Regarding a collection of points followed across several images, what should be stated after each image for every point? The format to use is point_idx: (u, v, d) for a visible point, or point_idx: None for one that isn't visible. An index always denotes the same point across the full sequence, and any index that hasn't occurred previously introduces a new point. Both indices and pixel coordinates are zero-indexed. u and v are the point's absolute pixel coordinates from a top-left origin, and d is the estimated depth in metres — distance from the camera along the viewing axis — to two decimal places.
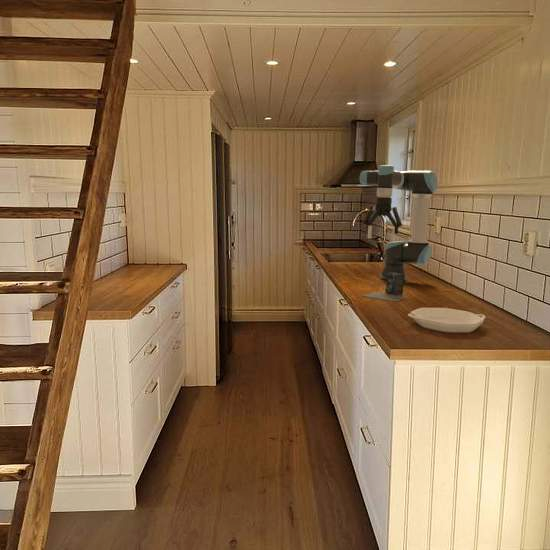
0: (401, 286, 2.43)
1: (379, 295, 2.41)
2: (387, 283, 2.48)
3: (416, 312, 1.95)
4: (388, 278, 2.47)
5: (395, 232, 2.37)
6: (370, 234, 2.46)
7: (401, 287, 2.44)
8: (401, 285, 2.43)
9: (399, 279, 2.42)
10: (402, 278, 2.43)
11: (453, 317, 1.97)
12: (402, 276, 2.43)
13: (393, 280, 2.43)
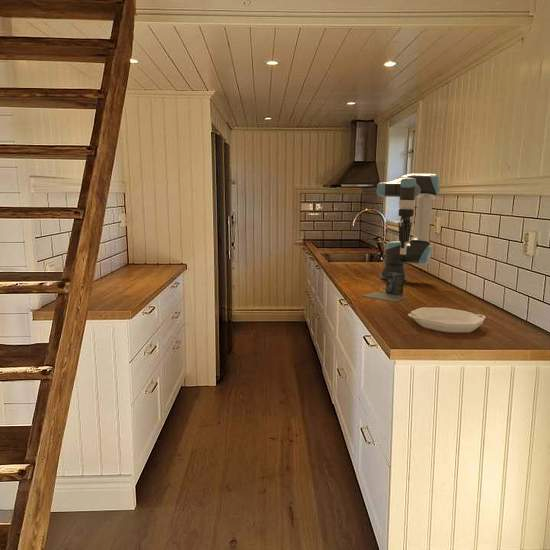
0: (401, 286, 2.43)
1: (379, 295, 2.41)
2: (387, 283, 2.48)
3: (416, 312, 1.95)
4: (388, 278, 2.47)
5: None
6: None
7: (401, 287, 2.44)
8: (401, 285, 2.43)
9: (399, 279, 2.42)
10: (402, 278, 2.43)
11: (453, 317, 1.97)
12: (402, 276, 2.43)
13: (393, 280, 2.43)
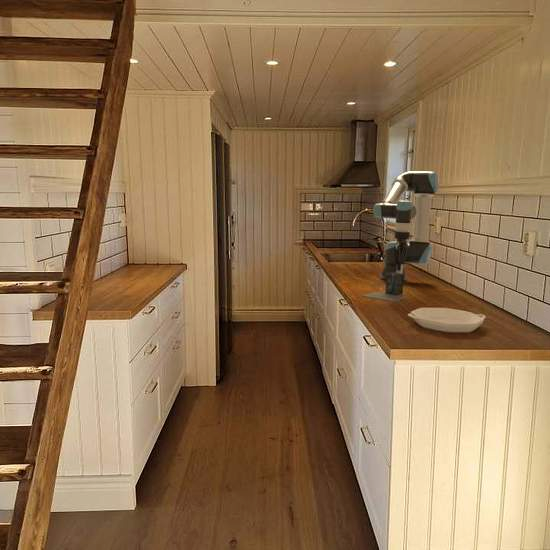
0: (401, 286, 2.43)
1: (379, 295, 2.41)
2: (387, 284, 2.48)
3: (416, 312, 1.95)
4: (387, 278, 2.47)
5: None
6: (399, 272, 2.49)
7: (401, 287, 2.44)
8: (400, 285, 2.43)
9: (398, 279, 2.43)
10: (401, 277, 2.43)
11: (453, 317, 1.97)
12: (401, 275, 2.43)
13: (392, 280, 2.43)
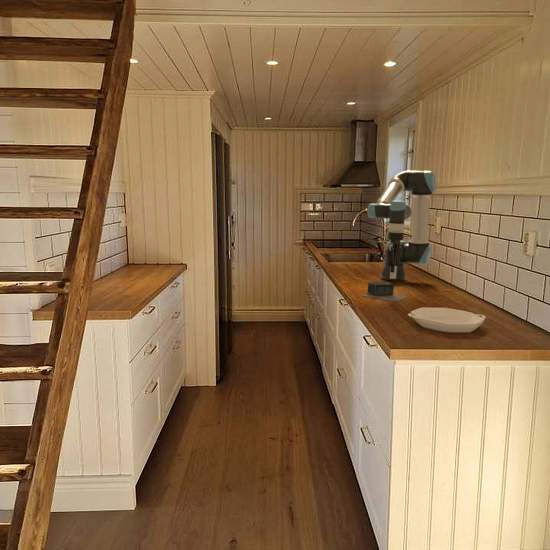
0: (386, 287, 2.41)
1: (379, 295, 2.41)
2: None
3: (416, 312, 1.95)
4: None
5: None
6: None
7: (387, 286, 2.41)
8: (385, 287, 2.40)
9: (379, 290, 2.40)
10: (378, 286, 2.39)
11: (453, 317, 1.97)
12: (377, 287, 2.39)
13: None
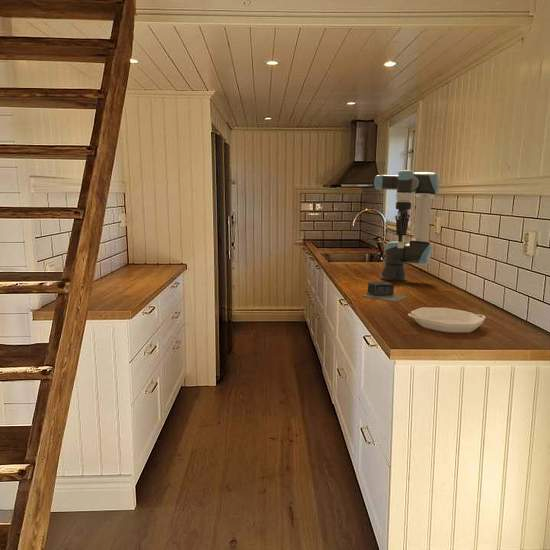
0: (386, 287, 2.41)
1: (379, 295, 2.41)
2: None
3: (416, 312, 1.95)
4: None
5: None
6: None
7: (387, 286, 2.41)
8: (385, 287, 2.40)
9: (379, 290, 2.40)
10: (378, 286, 2.39)
11: (453, 317, 1.97)
12: (377, 287, 2.39)
13: None
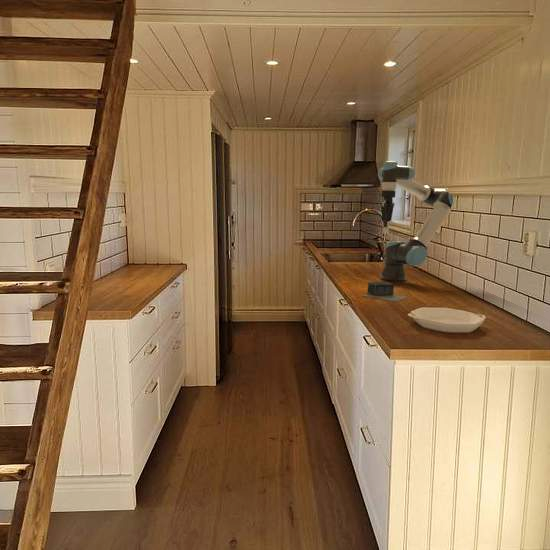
0: (386, 287, 2.41)
1: (379, 295, 2.41)
2: None
3: (416, 312, 1.95)
4: None
5: None
6: None
7: (387, 286, 2.41)
8: (385, 287, 2.40)
9: (379, 290, 2.40)
10: (378, 286, 2.39)
11: (453, 317, 1.97)
12: (377, 287, 2.39)
13: None
